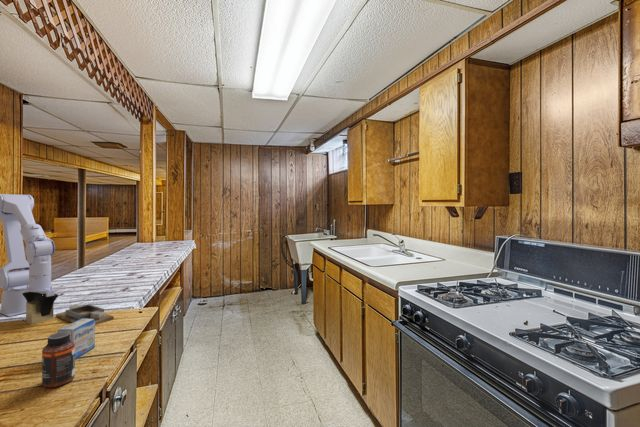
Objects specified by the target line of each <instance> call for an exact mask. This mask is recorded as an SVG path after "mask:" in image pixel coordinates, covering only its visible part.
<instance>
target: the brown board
mask: <svg viewBox="0 0 640 427" xmlns="http://www.w3.org/2000/svg"><path fill="white" fill-rule="evenodd" d="M55 314H56V315H55V316H56V318H59V319H62V320H65V321H67V322H70V323H73V322H75V321H77V320H80V319H95V326H96V325H99V324H102V323H105V322H108V321H112V320H114V319H115V316H114V315H110V314H108V313H105V309H104V308H103V307H98V306H96V305H92V304H90V303H89V304H85V305H78V304H73V305H70V306H69V307H68V309H66V310H65V311H63V312H58V313H55Z"/></svg>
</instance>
